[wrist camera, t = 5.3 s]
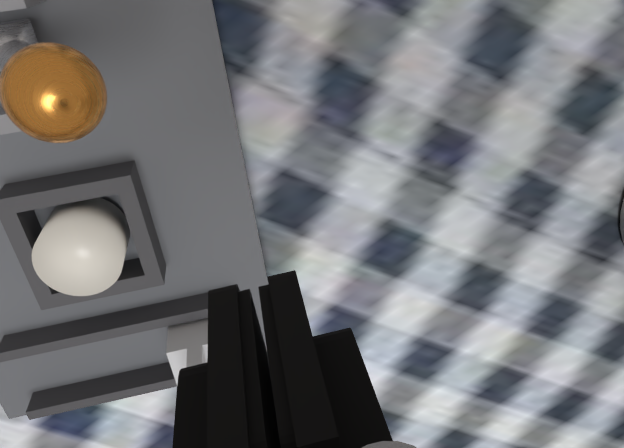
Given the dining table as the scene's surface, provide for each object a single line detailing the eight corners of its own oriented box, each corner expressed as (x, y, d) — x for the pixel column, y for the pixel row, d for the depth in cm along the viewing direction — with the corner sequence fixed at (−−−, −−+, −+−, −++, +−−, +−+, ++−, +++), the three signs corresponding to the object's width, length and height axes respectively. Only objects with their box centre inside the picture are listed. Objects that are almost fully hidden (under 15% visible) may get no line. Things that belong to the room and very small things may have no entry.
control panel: (193, -88, 25) (193, -95, 20) (278, 337, 37) (289, 390, 32) (-209, -33, 23) (-305, -28, 18) (18, 394, 35) (-8, 459, 30)
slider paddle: (220, 305, 32) (224, 380, 26) (231, 347, 33) (237, 425, 28) (169, 316, 31) (162, 394, 26) (182, 358, 33) (179, 439, 28)
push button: (117, 188, 27) (108, 214, 25) (139, 255, 29) (133, 286, 27) (35, 204, 27) (17, 232, 24) (63, 271, 29) (49, 303, 26)
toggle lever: (35, 15, 24) (100, 36, 14) (58, 79, 25) (130, 137, 16) (-36, 28, 22) (-16, 60, 13) (-8, 95, 24) (28, 166, 15)
